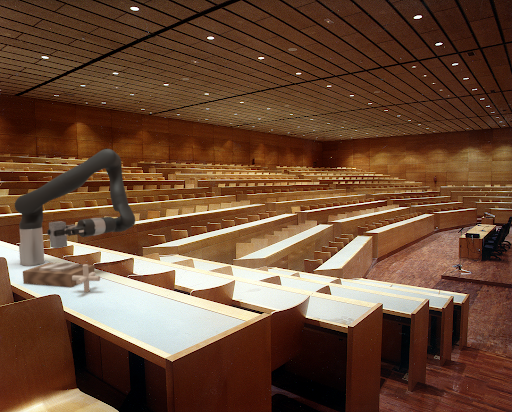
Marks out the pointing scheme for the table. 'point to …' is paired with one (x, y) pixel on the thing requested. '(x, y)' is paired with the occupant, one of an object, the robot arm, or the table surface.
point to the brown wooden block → (55, 274)
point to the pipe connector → (86, 278)
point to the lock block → (57, 240)
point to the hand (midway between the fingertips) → (51, 233)
